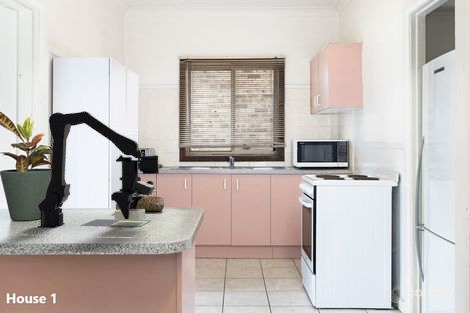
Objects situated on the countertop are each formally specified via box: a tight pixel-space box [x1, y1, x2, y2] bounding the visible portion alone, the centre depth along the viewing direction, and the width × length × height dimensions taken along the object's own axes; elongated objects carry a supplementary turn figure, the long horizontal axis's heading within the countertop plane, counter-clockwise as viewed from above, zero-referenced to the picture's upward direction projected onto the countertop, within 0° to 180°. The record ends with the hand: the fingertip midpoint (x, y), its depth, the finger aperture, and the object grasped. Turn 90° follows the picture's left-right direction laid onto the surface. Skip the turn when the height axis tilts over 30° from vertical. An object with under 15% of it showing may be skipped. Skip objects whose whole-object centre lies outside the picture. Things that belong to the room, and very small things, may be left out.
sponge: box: [115, 195, 165, 212], centre depth 165 cm, size 13×8×20 cm
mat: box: [79, 218, 152, 228], centre depth 139 cm, size 22×12×1 cm, turn 83°
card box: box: [114, 209, 146, 221], centre depth 138 cm, size 6×9×3 cm, turn 83°
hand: (130, 217), depth 138 cm, fingers closed on card box, 6 cm apart
